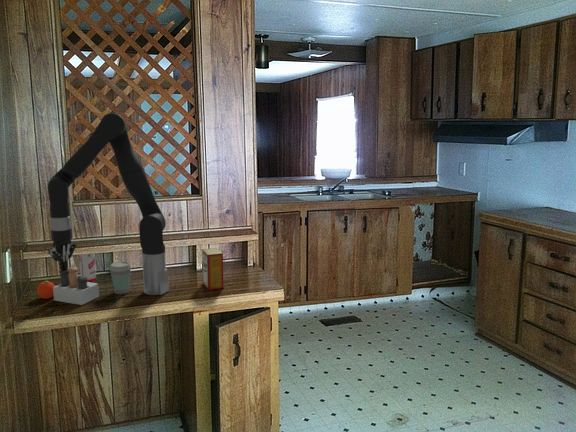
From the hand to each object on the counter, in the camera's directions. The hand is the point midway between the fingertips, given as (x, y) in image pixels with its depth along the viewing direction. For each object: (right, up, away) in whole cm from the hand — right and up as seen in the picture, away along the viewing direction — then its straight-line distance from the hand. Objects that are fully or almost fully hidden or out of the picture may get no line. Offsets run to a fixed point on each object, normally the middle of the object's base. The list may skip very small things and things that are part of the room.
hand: (64, 270), depth 209 cm
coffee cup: (+20, -10, +10) cm, 24 cm away
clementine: (-8, -12, +2) cm, 14 cm away
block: (+4, -12, +2) cm, 12 cm away
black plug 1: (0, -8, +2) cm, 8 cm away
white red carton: (+2, -8, +21) cm, 23 cm away
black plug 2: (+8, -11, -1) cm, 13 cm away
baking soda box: (+57, -9, +18) cm, 60 cm away
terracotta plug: (+4, -7, 0) cm, 8 cm away
